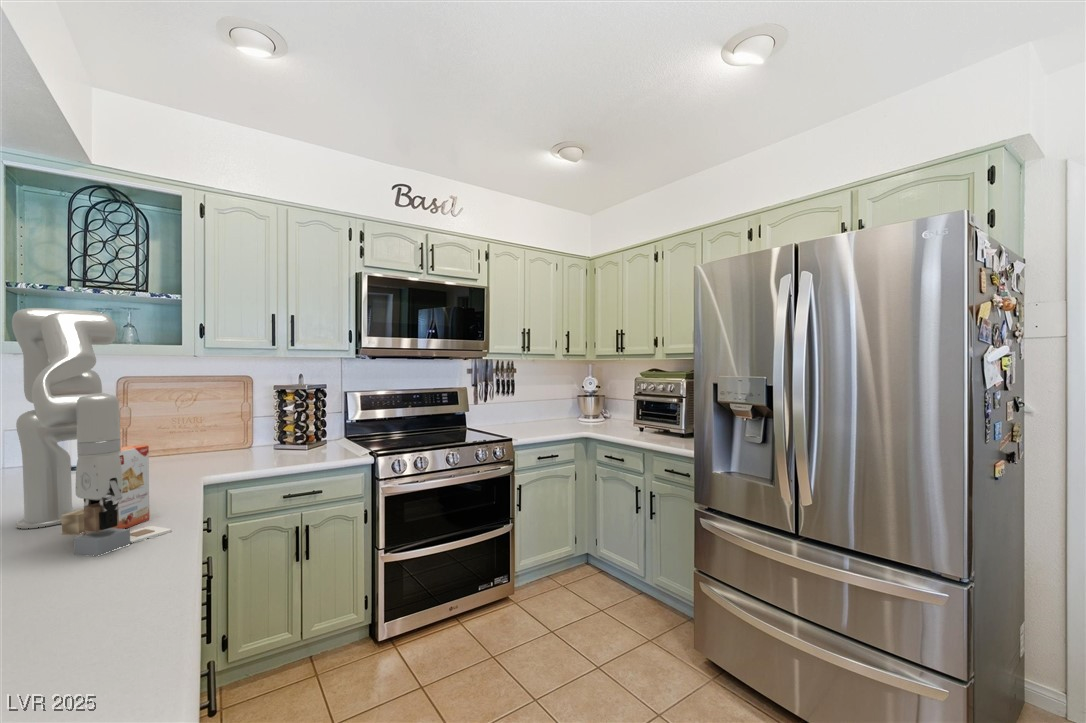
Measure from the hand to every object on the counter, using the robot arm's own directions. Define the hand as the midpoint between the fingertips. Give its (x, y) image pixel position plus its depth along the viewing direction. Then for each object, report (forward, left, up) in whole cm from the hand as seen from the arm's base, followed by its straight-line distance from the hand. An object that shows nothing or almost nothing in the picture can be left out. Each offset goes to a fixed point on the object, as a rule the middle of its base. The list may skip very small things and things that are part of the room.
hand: (102, 526), depth 116 cm
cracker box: (-15, +11, -6) cm, 19 cm away
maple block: (-23, +6, -6) cm, 24 cm away
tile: (-2, +9, -6) cm, 11 cm away
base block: (0, 0, -6) cm, 6 cm away
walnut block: (0, 0, 0) cm, 0 cm away
